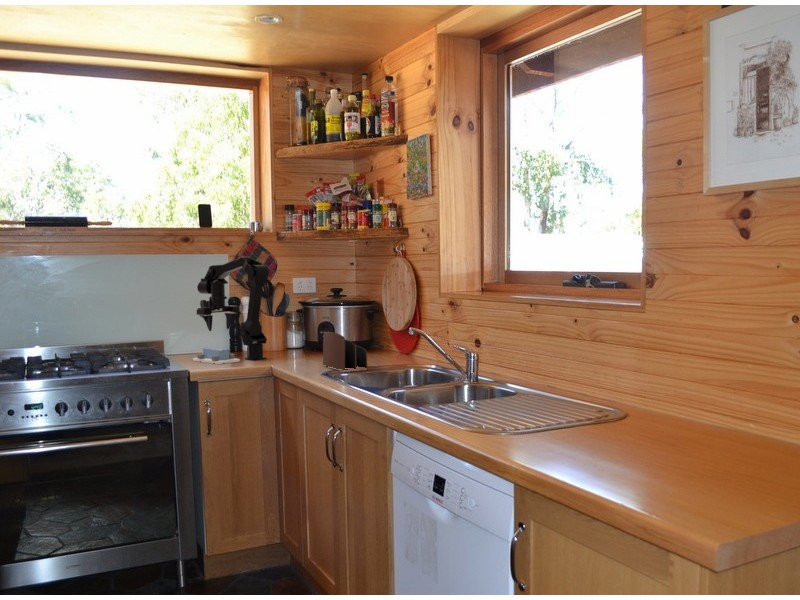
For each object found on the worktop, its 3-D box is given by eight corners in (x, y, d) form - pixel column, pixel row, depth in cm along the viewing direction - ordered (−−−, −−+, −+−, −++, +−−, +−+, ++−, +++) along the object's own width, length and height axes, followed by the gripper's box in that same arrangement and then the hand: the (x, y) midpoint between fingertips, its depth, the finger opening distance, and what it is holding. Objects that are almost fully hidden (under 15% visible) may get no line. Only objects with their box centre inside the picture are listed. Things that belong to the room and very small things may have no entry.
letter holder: (343, 373, 262) (342, 335, 261) (322, 366, 280) (321, 330, 279) (368, 371, 267) (367, 333, 266) (346, 364, 284) (345, 328, 284)
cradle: (239, 361, 294) (239, 354, 294) (219, 364, 287) (218, 357, 286) (213, 357, 306) (213, 351, 306) (193, 360, 298) (193, 353, 298)
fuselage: (229, 359, 294) (229, 349, 294) (220, 360, 291) (220, 350, 290) (209, 356, 303) (209, 346, 303) (200, 357, 300) (200, 347, 300)
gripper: (224, 292, 324) (225, 327, 325) (188, 294, 309) (189, 330, 310) (240, 293, 316) (241, 328, 317) (203, 295, 302) (204, 332, 303)
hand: (219, 330), depth 312 cm, fingers open, 9 cm apart
